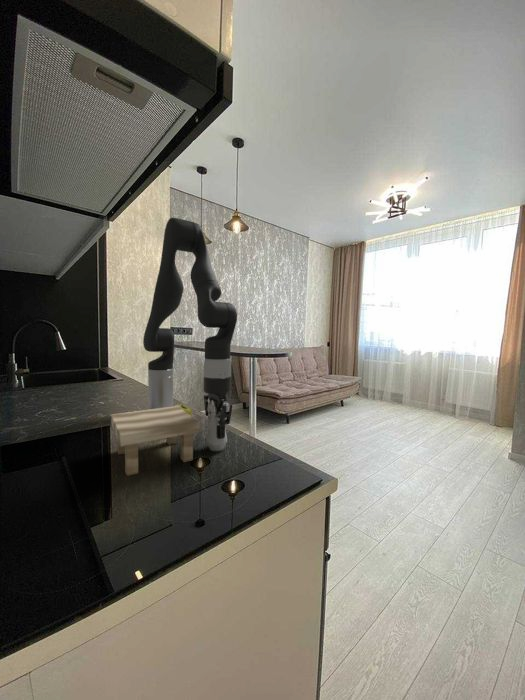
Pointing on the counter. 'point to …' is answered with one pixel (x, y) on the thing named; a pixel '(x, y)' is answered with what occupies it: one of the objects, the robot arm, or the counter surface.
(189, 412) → the apple
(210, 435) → the salt shaker
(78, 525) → the counter surface
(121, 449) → the footstool
